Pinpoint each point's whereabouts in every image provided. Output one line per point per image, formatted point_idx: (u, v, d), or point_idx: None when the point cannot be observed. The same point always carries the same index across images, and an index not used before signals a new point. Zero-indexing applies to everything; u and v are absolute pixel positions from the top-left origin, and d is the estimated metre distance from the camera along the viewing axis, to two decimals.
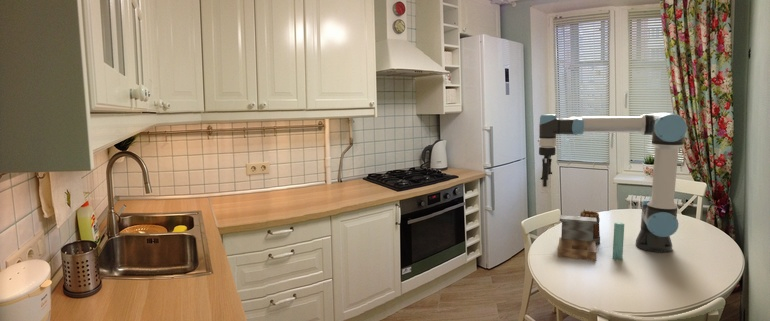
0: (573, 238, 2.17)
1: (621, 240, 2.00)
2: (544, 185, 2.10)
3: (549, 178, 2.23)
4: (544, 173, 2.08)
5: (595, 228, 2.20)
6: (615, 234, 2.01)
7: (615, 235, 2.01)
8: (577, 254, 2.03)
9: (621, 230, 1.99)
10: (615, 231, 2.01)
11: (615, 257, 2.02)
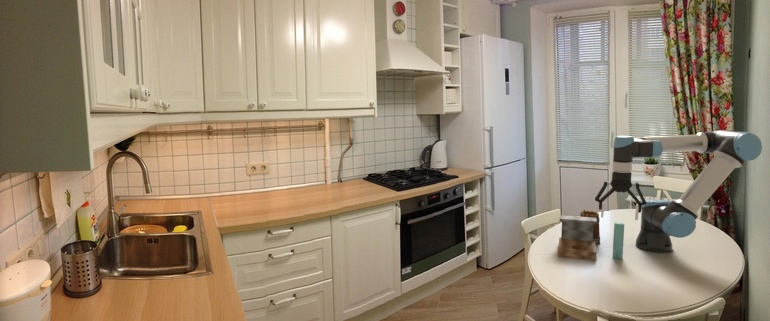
0: (573, 238, 2.17)
1: (621, 240, 2.00)
2: (599, 207, 2.03)
3: (636, 209, 1.96)
4: (597, 195, 2.03)
5: (595, 228, 2.20)
6: (615, 234, 2.01)
7: (615, 235, 2.01)
8: (577, 254, 2.03)
9: (620, 230, 1.99)
10: (615, 231, 2.01)
11: (615, 257, 2.02)
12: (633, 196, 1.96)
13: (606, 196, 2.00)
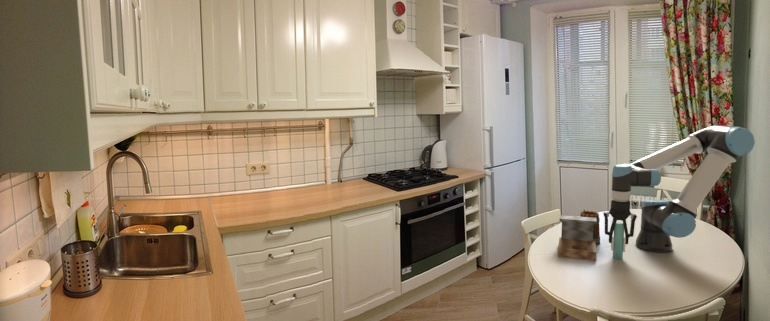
0: (573, 238, 2.17)
1: (621, 240, 2.00)
2: None
3: (623, 241, 2.00)
4: None
5: (595, 228, 2.20)
6: (615, 234, 2.01)
7: (615, 235, 2.01)
8: (577, 254, 2.03)
9: (621, 230, 1.99)
10: (615, 231, 2.01)
11: (615, 257, 2.02)
12: (625, 227, 1.99)
13: (612, 228, 2.01)
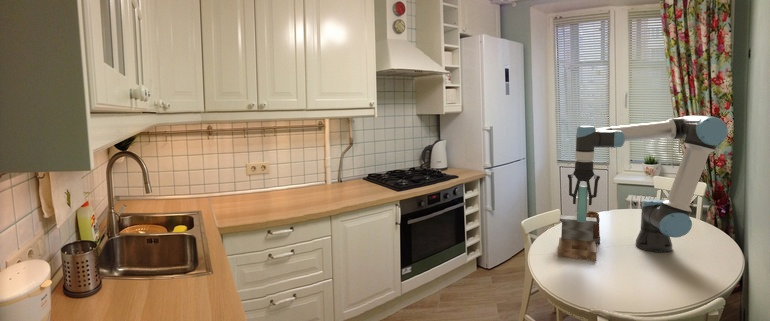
0: (573, 238, 2.17)
1: (584, 203, 2.01)
2: (573, 202, 2.05)
3: (587, 202, 2.02)
4: (569, 189, 2.05)
5: (595, 228, 2.20)
6: (579, 197, 2.02)
7: (579, 198, 2.02)
8: (577, 254, 2.03)
9: (584, 193, 2.00)
10: (579, 194, 2.02)
11: (579, 220, 2.03)
12: (588, 187, 2.00)
13: (576, 189, 2.02)
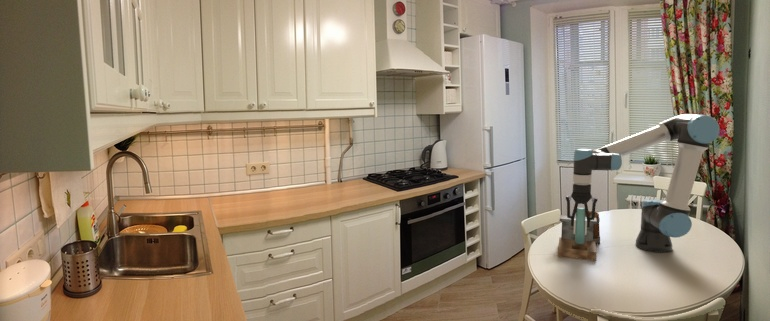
0: (573, 238, 2.17)
1: (582, 225, 2.03)
2: (571, 224, 2.06)
3: (585, 224, 2.03)
4: (567, 211, 2.06)
5: (595, 228, 2.20)
6: (577, 219, 2.04)
7: (577, 220, 2.04)
8: (577, 254, 2.03)
9: (582, 215, 2.02)
10: (577, 216, 2.04)
11: (577, 242, 2.05)
12: (586, 210, 2.02)
13: (574, 211, 2.04)
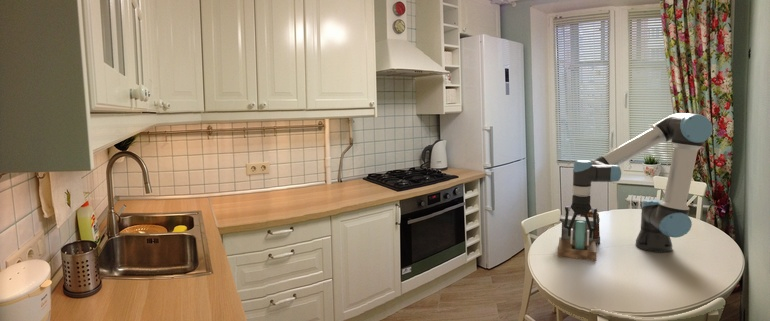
0: (573, 238, 2.17)
1: (582, 238, 2.04)
2: (568, 234, 2.08)
3: (587, 235, 2.03)
4: None
5: None
6: (576, 232, 2.05)
7: (576, 233, 2.05)
8: (577, 254, 2.03)
9: (581, 229, 2.03)
10: (576, 229, 2.05)
11: None
12: (587, 221, 2.02)
13: (572, 222, 2.05)
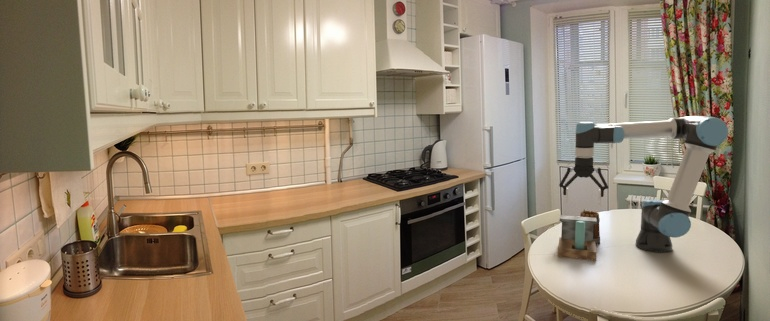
0: (573, 238, 2.17)
1: (582, 238, 2.04)
2: (563, 193, 2.07)
3: None
4: None
5: (595, 228, 2.20)
6: (576, 232, 2.05)
7: (576, 233, 2.05)
8: (577, 254, 2.03)
9: (581, 229, 2.03)
10: (576, 229, 2.04)
11: None
12: (595, 181, 2.00)
13: (570, 182, 2.04)
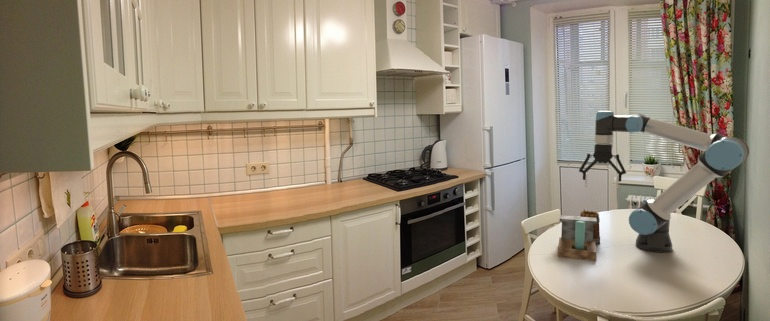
0: (573, 238, 2.17)
1: (582, 238, 2.04)
2: None
3: (616, 178, 2.13)
4: (581, 166, 2.19)
5: (595, 228, 2.20)
6: (576, 232, 2.05)
7: (576, 233, 2.05)
8: (577, 254, 2.03)
9: (581, 229, 2.03)
10: (576, 229, 2.04)
11: None
12: (614, 166, 2.13)
13: (589, 167, 2.17)
